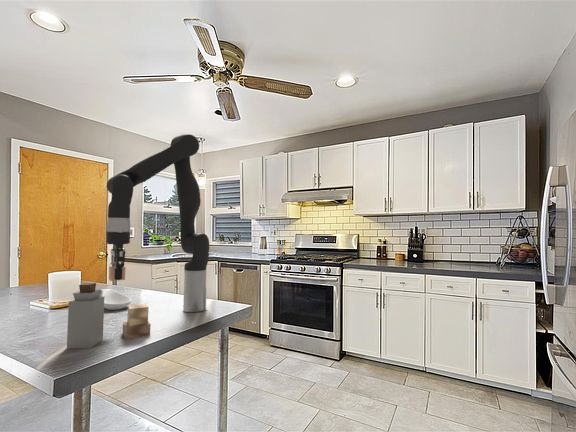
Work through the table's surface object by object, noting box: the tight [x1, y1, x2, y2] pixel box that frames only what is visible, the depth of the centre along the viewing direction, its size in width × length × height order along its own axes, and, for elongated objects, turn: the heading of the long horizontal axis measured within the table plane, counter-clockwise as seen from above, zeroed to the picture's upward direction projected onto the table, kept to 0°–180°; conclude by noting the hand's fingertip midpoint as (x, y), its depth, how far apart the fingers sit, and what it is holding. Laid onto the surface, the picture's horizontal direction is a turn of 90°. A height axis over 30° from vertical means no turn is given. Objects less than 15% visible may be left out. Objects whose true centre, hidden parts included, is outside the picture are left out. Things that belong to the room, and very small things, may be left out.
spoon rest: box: [99, 288, 133, 311], centre depth 139 cm, size 24×12×7 cm, turn 53°
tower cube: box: [126, 303, 149, 326], centre depth 103 cm, size 6×6×6 cm
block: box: [108, 265, 126, 282], centre depth 111 cm, size 4×4×4 cm
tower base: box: [122, 321, 151, 340], centre depth 103 cm, size 7×7×4 cm
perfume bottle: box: [66, 282, 105, 349], centre depth 94 cm, size 7×7×18 cm
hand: (117, 278), depth 111 cm, fingers closed on block, 4 cm apart
